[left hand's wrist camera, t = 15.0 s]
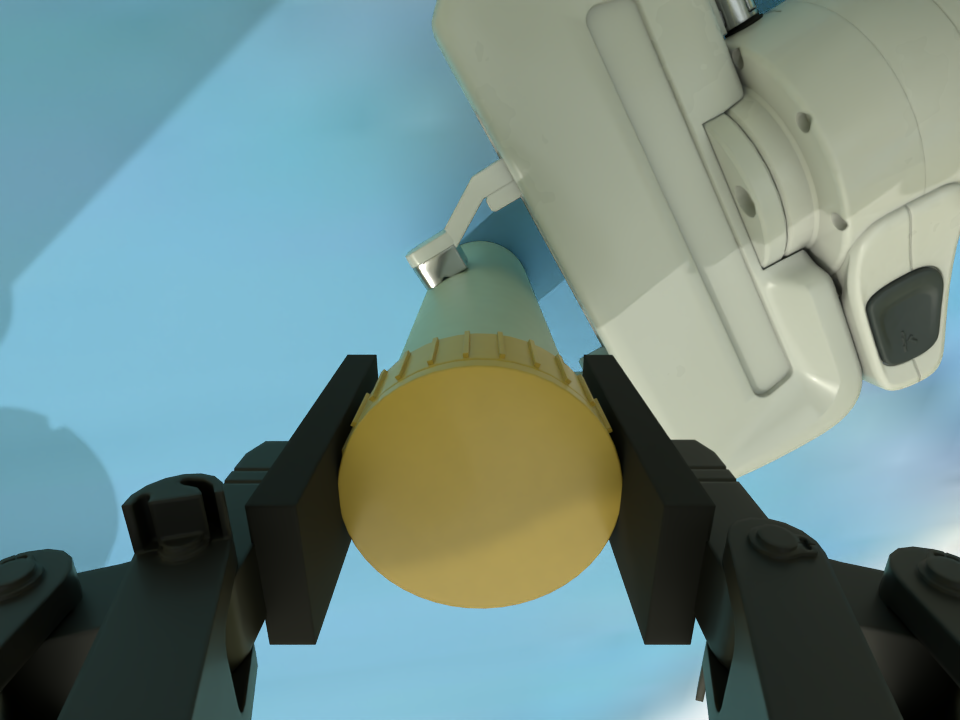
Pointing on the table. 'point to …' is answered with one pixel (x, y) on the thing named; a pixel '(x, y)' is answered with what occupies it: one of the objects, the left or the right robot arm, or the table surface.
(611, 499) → the lid
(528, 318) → the jar
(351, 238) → the table surface
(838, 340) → the right robot arm
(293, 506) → the left robot arm
